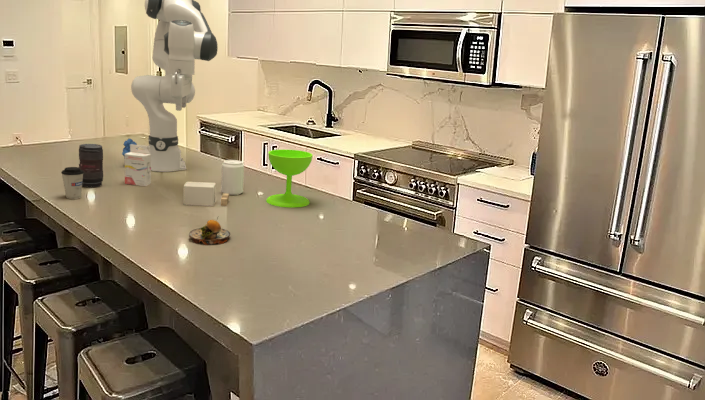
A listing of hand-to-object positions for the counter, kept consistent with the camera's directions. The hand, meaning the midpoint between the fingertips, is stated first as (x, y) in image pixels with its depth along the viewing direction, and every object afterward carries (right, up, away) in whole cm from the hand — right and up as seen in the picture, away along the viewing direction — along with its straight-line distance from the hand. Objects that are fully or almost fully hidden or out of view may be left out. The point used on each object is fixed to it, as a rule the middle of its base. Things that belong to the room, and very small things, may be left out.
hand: (181, 109), depth 210 cm
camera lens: (-36, -27, +10) cm, 46 cm away
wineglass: (+37, -33, +10) cm, 50 cm away
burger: (+19, -44, -36) cm, 60 cm away
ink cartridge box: (-22, -26, +18) cm, 38 cm away
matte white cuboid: (+7, -33, -1) cm, 34 cm away
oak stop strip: (+15, -33, +1) cm, 36 cm away
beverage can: (+15, -30, +16) cm, 37 cm away
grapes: (-35, -18, +45) cm, 59 cm away
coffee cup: (-35, -31, -6) cm, 47 cm away
